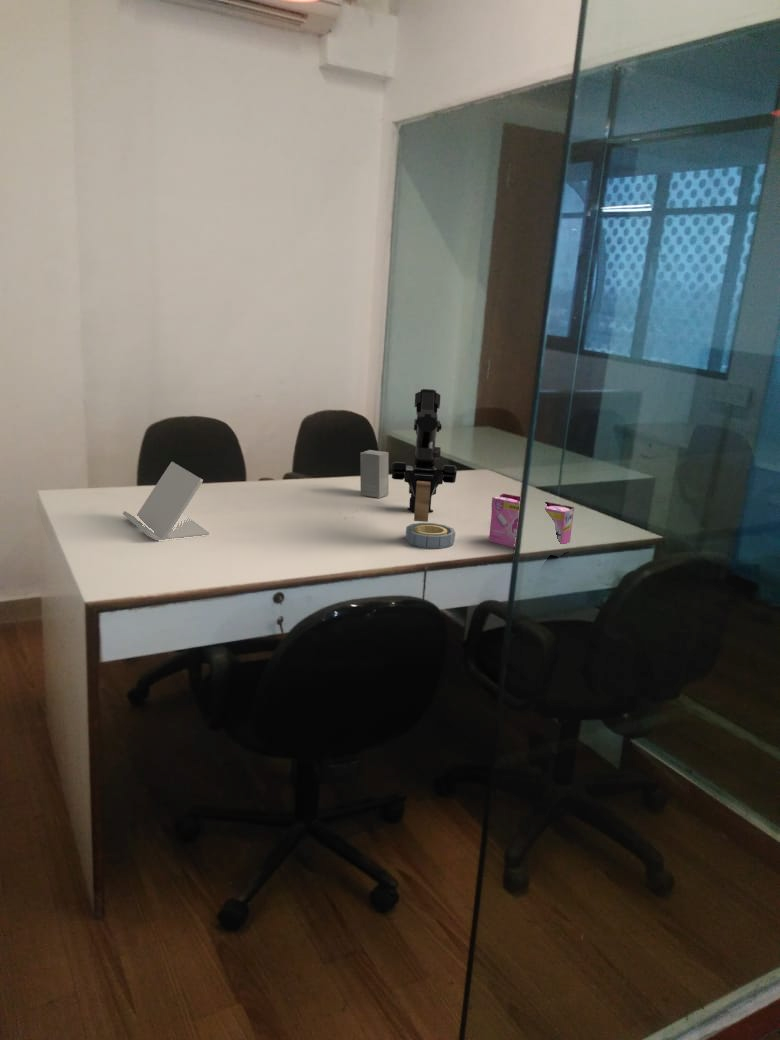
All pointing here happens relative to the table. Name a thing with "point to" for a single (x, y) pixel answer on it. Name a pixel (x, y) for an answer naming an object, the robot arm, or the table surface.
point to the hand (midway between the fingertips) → (422, 497)
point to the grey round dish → (430, 535)
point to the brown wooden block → (422, 501)
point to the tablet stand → (169, 506)
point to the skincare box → (374, 473)
